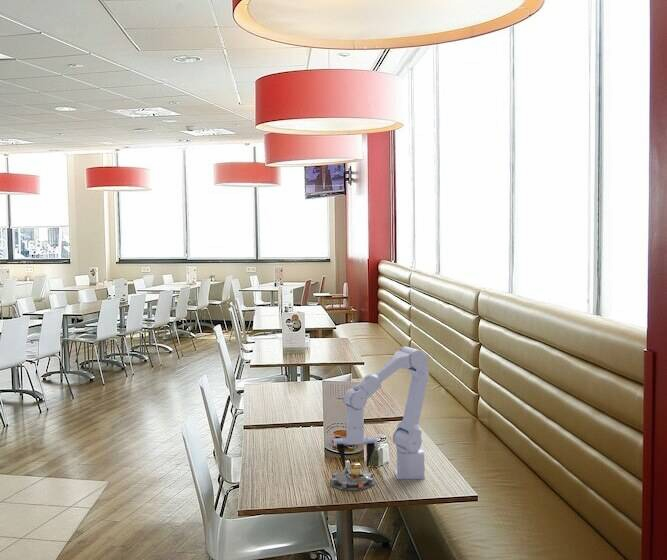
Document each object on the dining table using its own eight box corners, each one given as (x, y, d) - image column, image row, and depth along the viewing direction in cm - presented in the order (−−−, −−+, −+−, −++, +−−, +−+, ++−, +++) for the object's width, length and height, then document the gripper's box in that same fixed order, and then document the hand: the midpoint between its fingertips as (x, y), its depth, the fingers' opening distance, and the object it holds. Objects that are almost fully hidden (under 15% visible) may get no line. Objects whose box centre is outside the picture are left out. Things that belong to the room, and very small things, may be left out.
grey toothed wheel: (372, 472, 250) (372, 457, 250) (375, 487, 236) (374, 471, 236) (331, 473, 250) (331, 458, 250) (331, 488, 236) (331, 472, 236)
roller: (361, 477, 241) (361, 462, 241) (359, 480, 238) (359, 466, 238) (352, 476, 242) (352, 462, 242) (349, 480, 239) (349, 465, 239)
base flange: (373, 474, 251) (373, 472, 251) (376, 490, 236) (376, 488, 236) (330, 475, 251) (330, 473, 251) (330, 491, 236) (330, 489, 236)
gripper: (376, 421, 243) (377, 461, 244) (332, 423, 243) (333, 462, 244) (377, 427, 236) (378, 468, 237) (333, 429, 236) (334, 469, 237)
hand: (356, 466), depth 240 cm, fingers open, 7 cm apart
